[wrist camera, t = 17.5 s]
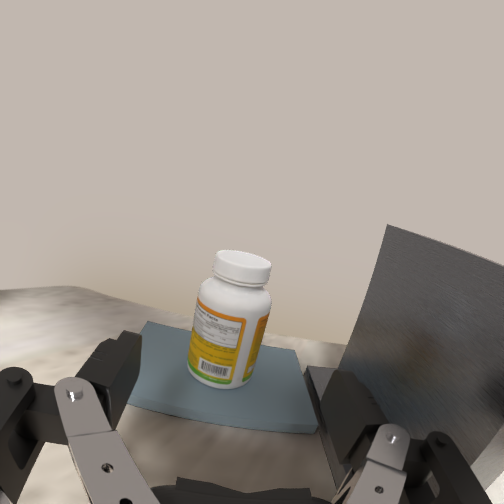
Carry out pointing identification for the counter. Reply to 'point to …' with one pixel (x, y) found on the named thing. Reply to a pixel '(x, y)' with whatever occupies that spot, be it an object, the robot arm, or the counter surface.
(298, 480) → the counter surface
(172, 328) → the mat
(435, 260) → the mounted unit
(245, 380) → the supplement bottle
